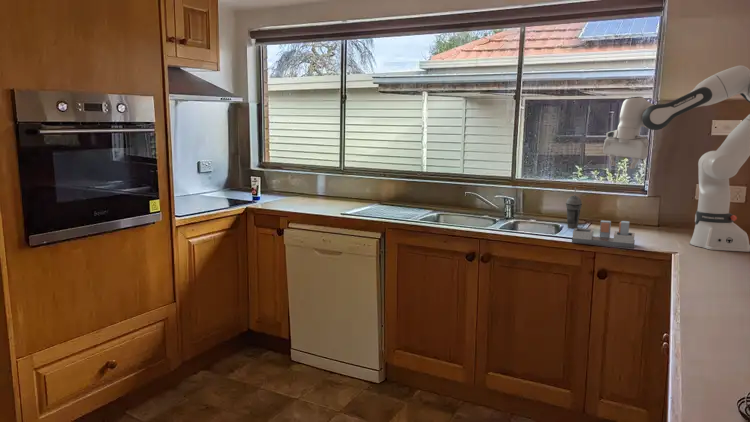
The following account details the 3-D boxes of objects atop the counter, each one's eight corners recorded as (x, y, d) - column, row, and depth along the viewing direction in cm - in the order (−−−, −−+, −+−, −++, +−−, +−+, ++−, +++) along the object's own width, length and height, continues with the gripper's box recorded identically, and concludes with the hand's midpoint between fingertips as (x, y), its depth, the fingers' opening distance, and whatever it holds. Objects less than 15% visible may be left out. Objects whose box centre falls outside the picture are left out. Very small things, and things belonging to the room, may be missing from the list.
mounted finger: (628, 240, 224) (629, 221, 223) (627, 242, 221) (629, 223, 219) (618, 239, 226) (619, 220, 225) (618, 241, 222) (619, 222, 221)
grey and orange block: (609, 238, 236) (610, 221, 235) (609, 240, 233) (610, 222, 232) (599, 238, 238) (601, 220, 237) (599, 239, 235) (600, 221, 234)
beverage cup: (578, 226, 266) (580, 186, 262) (582, 229, 258) (584, 187, 255) (563, 225, 266) (565, 185, 263) (566, 228, 259) (569, 187, 256)
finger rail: (634, 244, 225) (635, 232, 224) (633, 248, 218) (634, 236, 217) (574, 239, 236) (574, 227, 235) (571, 242, 229) (572, 231, 228)
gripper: (654, 137, 221) (648, 170, 224) (613, 133, 239) (607, 164, 242) (644, 136, 218) (638, 170, 221) (603, 132, 236) (597, 164, 239)
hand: (621, 167), depth 231 cm, fingers open, 8 cm apart
